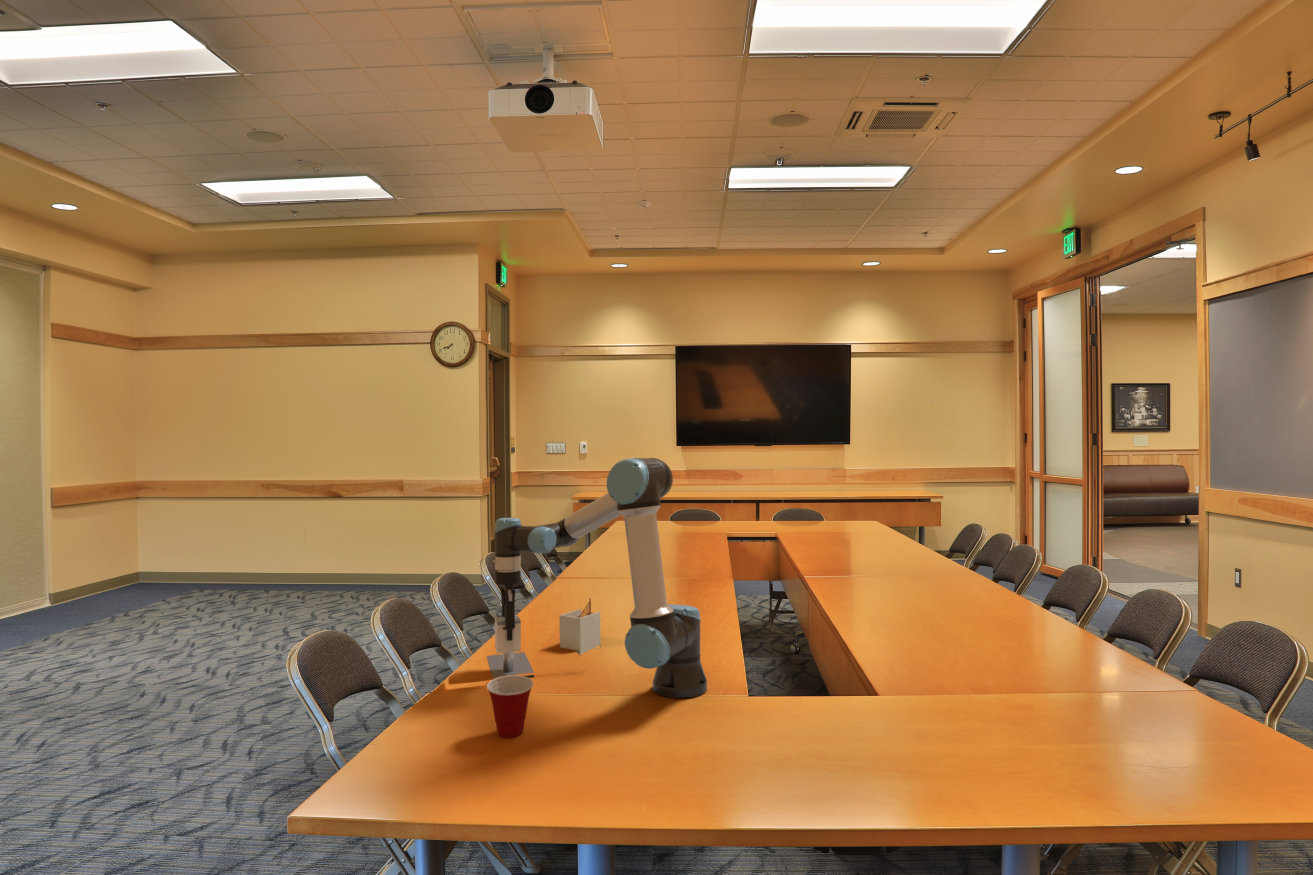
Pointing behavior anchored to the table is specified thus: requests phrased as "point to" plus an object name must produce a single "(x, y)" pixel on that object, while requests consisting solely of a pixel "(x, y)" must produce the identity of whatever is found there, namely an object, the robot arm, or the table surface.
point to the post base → (517, 665)
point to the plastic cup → (510, 703)
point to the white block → (500, 634)
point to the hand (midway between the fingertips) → (507, 647)
